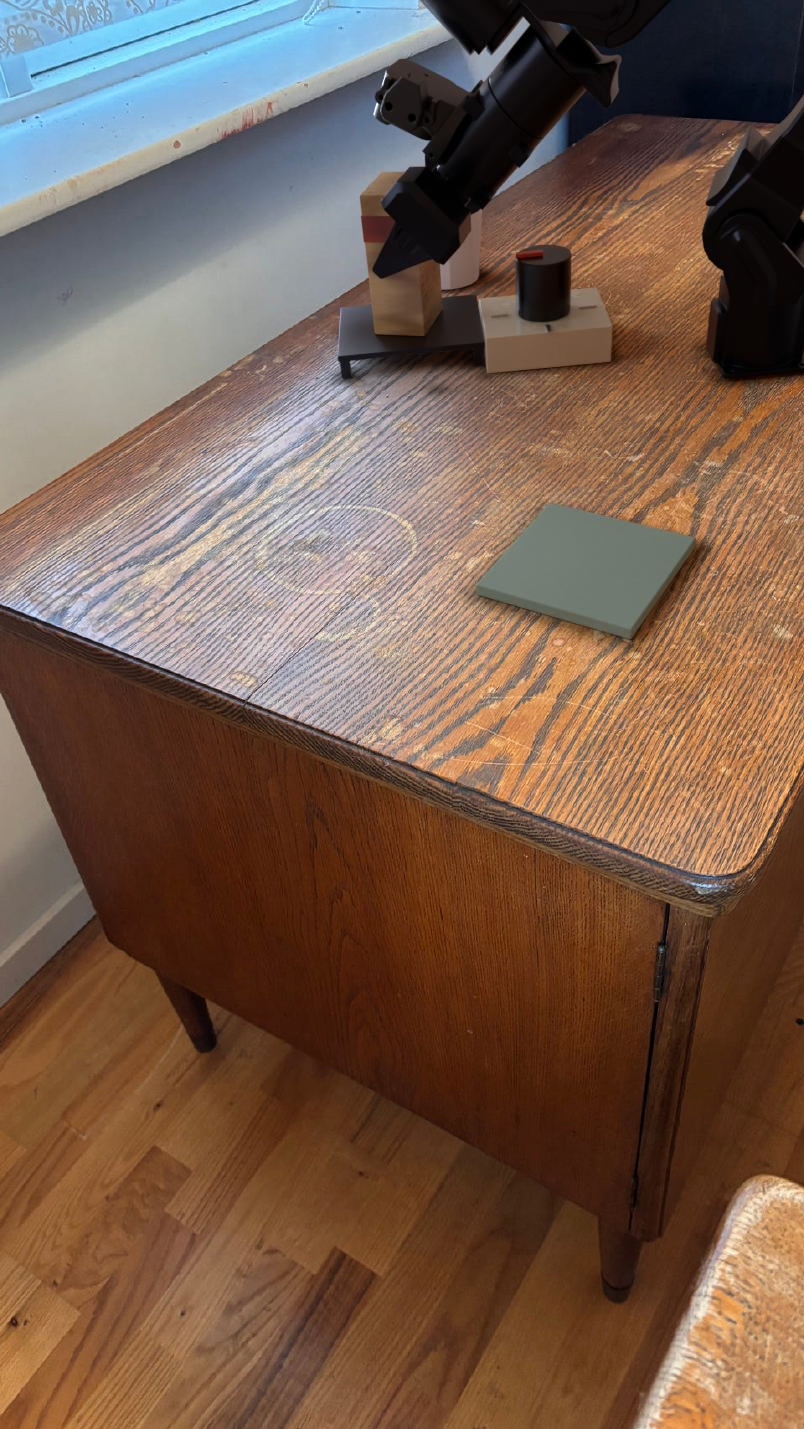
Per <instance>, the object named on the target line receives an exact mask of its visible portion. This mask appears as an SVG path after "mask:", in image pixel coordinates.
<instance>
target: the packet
mask: <svg viewBox="0 0 804 1429" xmlns="http://www.w3.org/2000/svg"><path fill="white" fill-rule="evenodd" d="M404 172H405V171H381V172H379V174H378V175H377V176H376V177H375V178H374V179H373V180H372V181H371V182H370V184H368V186H367V187H366V188H365V189H364V190H363V191H362V192H361V193H360V194H359V205H360V212H361V213H360V221H361V231H362V238H363V243H364V248H365V259H366V265H367V275H368V284H369V292H370V302H371V303H370V304H371V305H372V311H373V320H374V329H375V334H379V335H404V336H425V335H426V334H427V332H428V331H429V329H430V328H431V326H432V324H433V323H434V321H435V320H436V318H437V317H438V315H439V314H440V312H441V310H442V309H443V305H442V298H443V293H442V290H441V275H440V264H439V263H436V262H435V261H434V260H433V259H432V260H429V261H426V262H423V263H420V264H418V265H415V266H413V267H410V268H408V269H405V270H403V271H400V272H398V273H395V274H393V275H391V276H388V277H386V278H383V279H380V278H379V277H378V276H377V275H376V274H375V273H374V272H373V271H372V267H373V265H374V263H375V261H376V259H377V257H378V255H379V253H380V251H381V249H382V247H383V245H384V243H385V241H386V239H387V237H388V235H389V233H390V231H391V229H392V226H393V224H394V222H395V221H394V220H393V219H392V218H391V217H390V216H389V215H388V214H387V213H386V212H385V211H384V209H383V207H382V204H381V202H380V201H381V200H382V199H383V198H384V196H385V195H386V194H387V193H388V191H389V190H390V189H391V188H392V186H393V185H394V184H395V182H396V181H397V180H398V179H399V178H400V177H401V176H402V175H403V173H404Z"/></svg>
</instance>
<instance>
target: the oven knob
mask: <svg viewBox="0 0 804 1429" xmlns="http://www.w3.org/2000/svg"><path fill="white" fill-rule="evenodd" d="M514 261H515V262H514V266H515V270H514V271H515V295H516V313H517V315H518V316H519V317H520V318H522V319H525V320H528V321H534V322H546V321H553V320H557V319H560V318H562V317H564V316H566V315H567V314H568V313H569V312H570V309H571V290H572V251H571V250H570V249H569V248H567V247H565V246H563V245H558V244H537V245H532V246H528V247H525V248H522V249H520V250H519V251H516V252H515V256H514Z"/></svg>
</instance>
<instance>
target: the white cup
mask: <svg viewBox="0 0 804 1429" xmlns="http://www.w3.org/2000/svg"><path fill="white" fill-rule="evenodd" d="M482 220H483V210H481V209H480V210H479V211H478V212H476V213H474V214H472V215H471V232H470V233H469V235H468V236H467V238H466V239H465V240H464V242H463V243H462V245H461V246H460V248H459V249H458V250H457V251H456V252H455V253H454V254H453V255H452V257H451V258H450V259H449V260H448V261H447V262H446V263H445V264H444V265H442V264H440V275H441V290H456V289H460V288H461V289H462V288H465V287H468V286H470V285H473V284H474V283H475V282H476V281H478V280H479V276H480V261H481V242H482V241H481V240H482V222H483V221H482Z"/></svg>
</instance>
